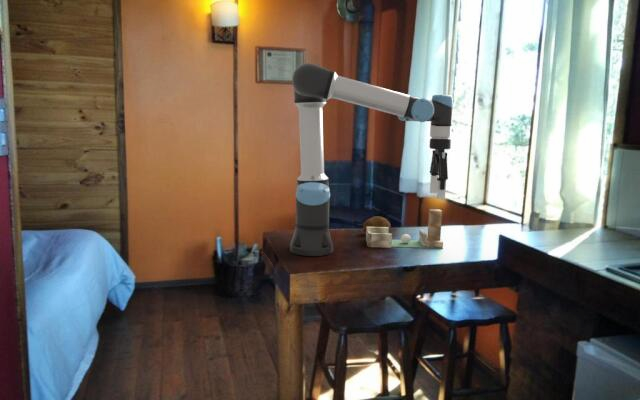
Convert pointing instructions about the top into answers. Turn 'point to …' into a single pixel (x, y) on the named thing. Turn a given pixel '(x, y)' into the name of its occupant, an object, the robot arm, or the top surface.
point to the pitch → (410, 244)
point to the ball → (405, 238)
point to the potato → (376, 222)
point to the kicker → (432, 230)
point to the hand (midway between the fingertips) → (437, 195)
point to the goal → (378, 237)
